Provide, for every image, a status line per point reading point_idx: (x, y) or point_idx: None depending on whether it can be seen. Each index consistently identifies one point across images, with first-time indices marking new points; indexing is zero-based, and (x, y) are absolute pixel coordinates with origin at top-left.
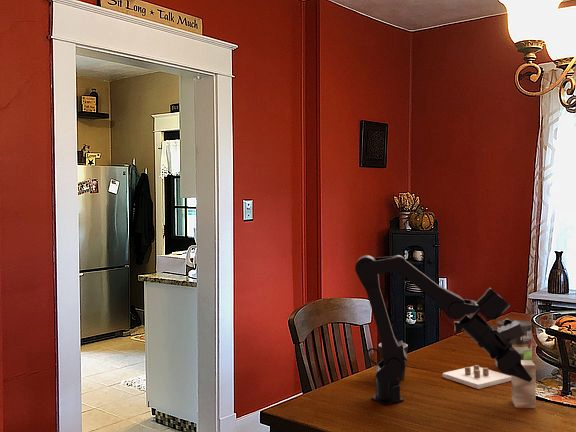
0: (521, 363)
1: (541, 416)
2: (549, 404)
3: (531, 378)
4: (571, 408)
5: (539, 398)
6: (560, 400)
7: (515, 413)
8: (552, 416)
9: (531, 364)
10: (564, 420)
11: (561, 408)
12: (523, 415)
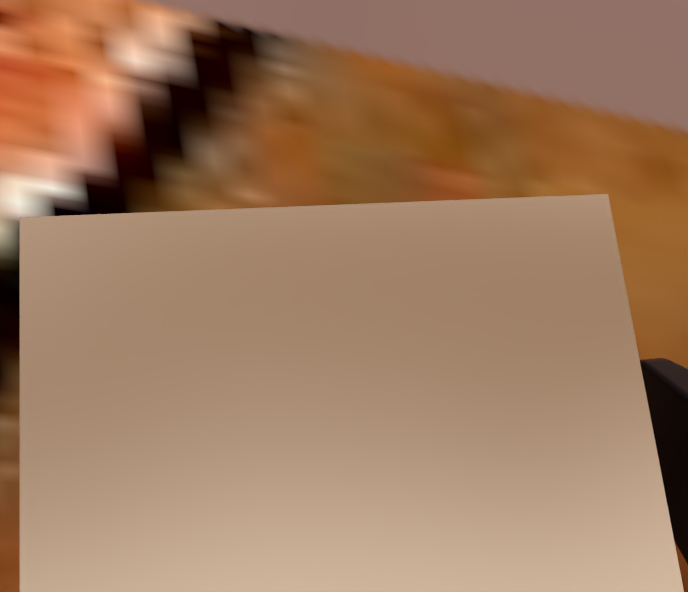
0: (497, 581)
1: None
2: (234, 206)
3: (676, 367)
4: (318, 42)
5: None
6: (87, 80)
7: None
8: None
9: (537, 285)
10: (635, 166)
11: (335, 124)
12: None
